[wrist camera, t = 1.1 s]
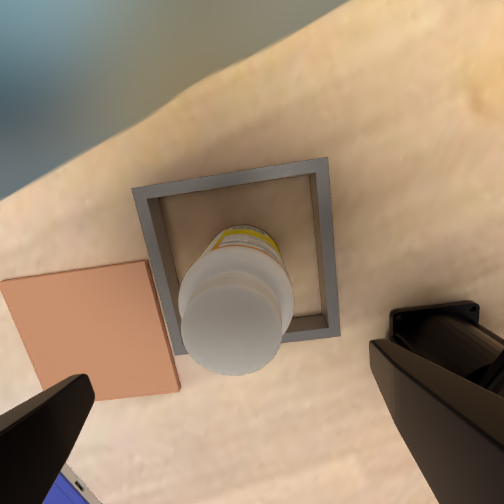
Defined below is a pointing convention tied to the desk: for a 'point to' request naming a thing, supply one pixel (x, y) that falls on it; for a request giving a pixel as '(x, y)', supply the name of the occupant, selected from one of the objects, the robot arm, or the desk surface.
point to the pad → (95, 329)
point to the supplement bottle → (236, 302)
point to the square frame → (317, 169)
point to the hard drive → (69, 490)
